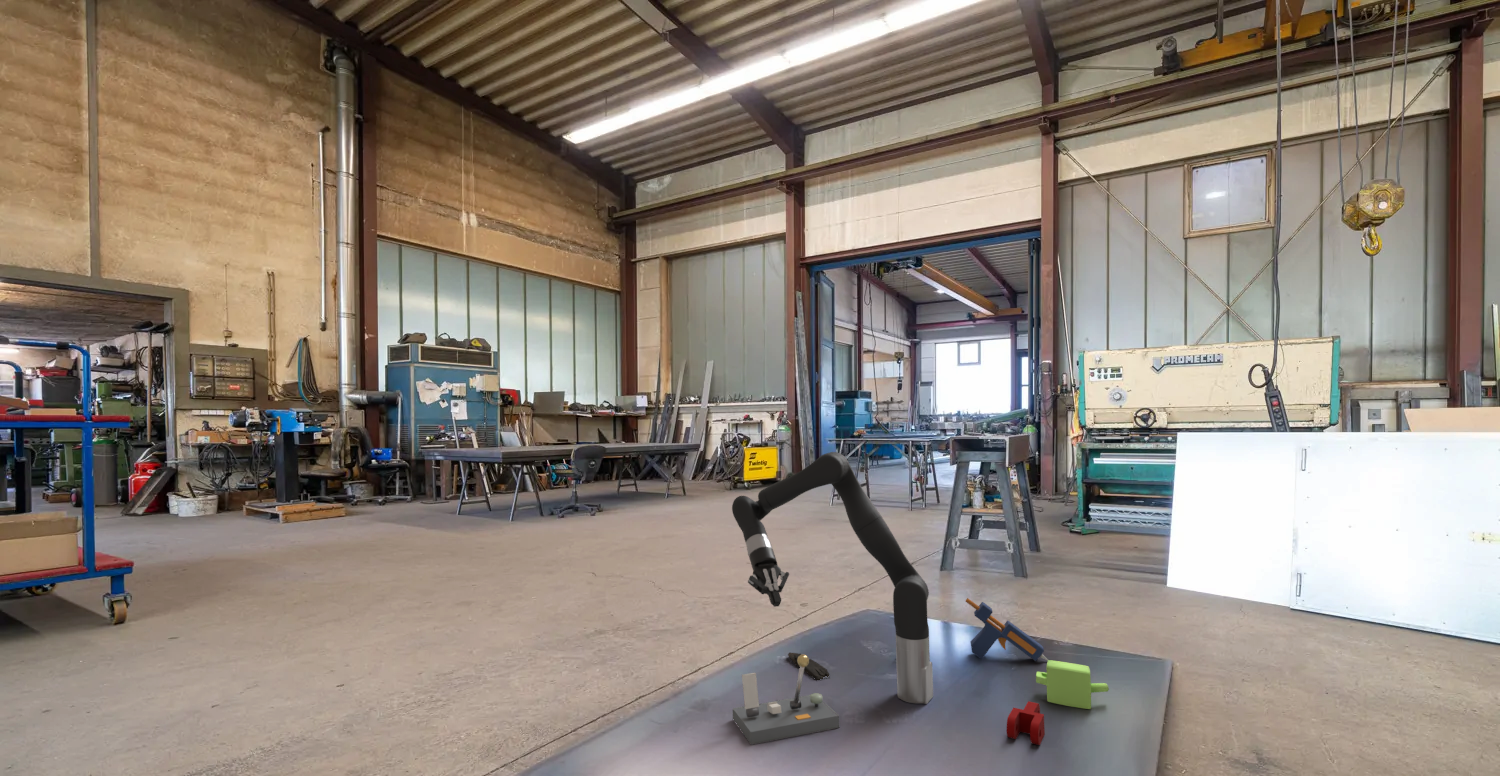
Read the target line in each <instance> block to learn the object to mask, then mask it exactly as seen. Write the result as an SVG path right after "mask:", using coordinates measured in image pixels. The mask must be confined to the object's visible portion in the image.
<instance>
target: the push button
mask: <svg viewBox="0 0 1500 776" xmlns="http://www.w3.org/2000/svg"><path fill="white" fill-rule="evenodd" d="M809 695H810V702H811V703H814V704H815V707H818V704H820V703H822V701H823V695H822V694H821V693H818V692H816V693H811V694H809Z"/></svg>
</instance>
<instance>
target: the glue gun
mask: <svg viewBox="0 0 1500 776" xmlns="http://www.w3.org/2000/svg"><path fill="white" fill-rule="evenodd" d="M964 601H965V603H967V604H968V605H969V606H970V607H972V608H974V611H973V613H974V617H976V618H977V619H978V620H980V621H981V622H982V623H983V624H984V626H983V628H982V629H981V630H980V631H979V632H978V633H976V635H975V636H974V637H973V638H972V639H971V640H970V649H971V652H972V654H974V655H975V656H976V657H978V658H979V659H983V658H984V657H985V655H986V654H987V653H988V651H990V649H991V648H992V646H993V645H994V644H995V643H996V641H997V640H998V643H999V644H1000V646H1001V647H1002V648H1003V649H1004V651H1006V649H1007V648H1006V642H1007V641H1008V642H1009V643H1010V644H1011V645H1013V646H1014V647H1016V649H1017V648H1018V650H1020V651H1021V652H1022V653H1023V654H1025V655H1026V656H1028V657H1029V658H1030V659H1032V660H1033V661H1034V662H1037V661H1038V659H1040V658H1041V659H1043V660H1044V661H1046V662H1048V660H1049V659H1048V658H1047V657H1046V656H1045V655H1044V654H1043V653H1044V652H1045V649H1044V646H1043V645H1042V644H1041V643H1039V642H1038V641H1037V640H1035V639H1034V638H1033V637H1031V636H1030V635H1028V633H1026V632H1025V631H1023V630H1022V629H1020V628H1019V627H1018V626H1017V625H1015V624H1014V623H1012V622H1011V621H1010V620H1006V622H1004V624H1003V623H1002V622H1001V621H999V620H998V619H997V618H995V616H994V617H993V616H992V614H993V608H991V606H989V605H988V604H987V603H985V602H984V601H981V602H980V604H979V605H978V604H976V603H975V602H974V601H973V600H971V599H969V597H967V598H966V599H965V600H964Z"/></svg>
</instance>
